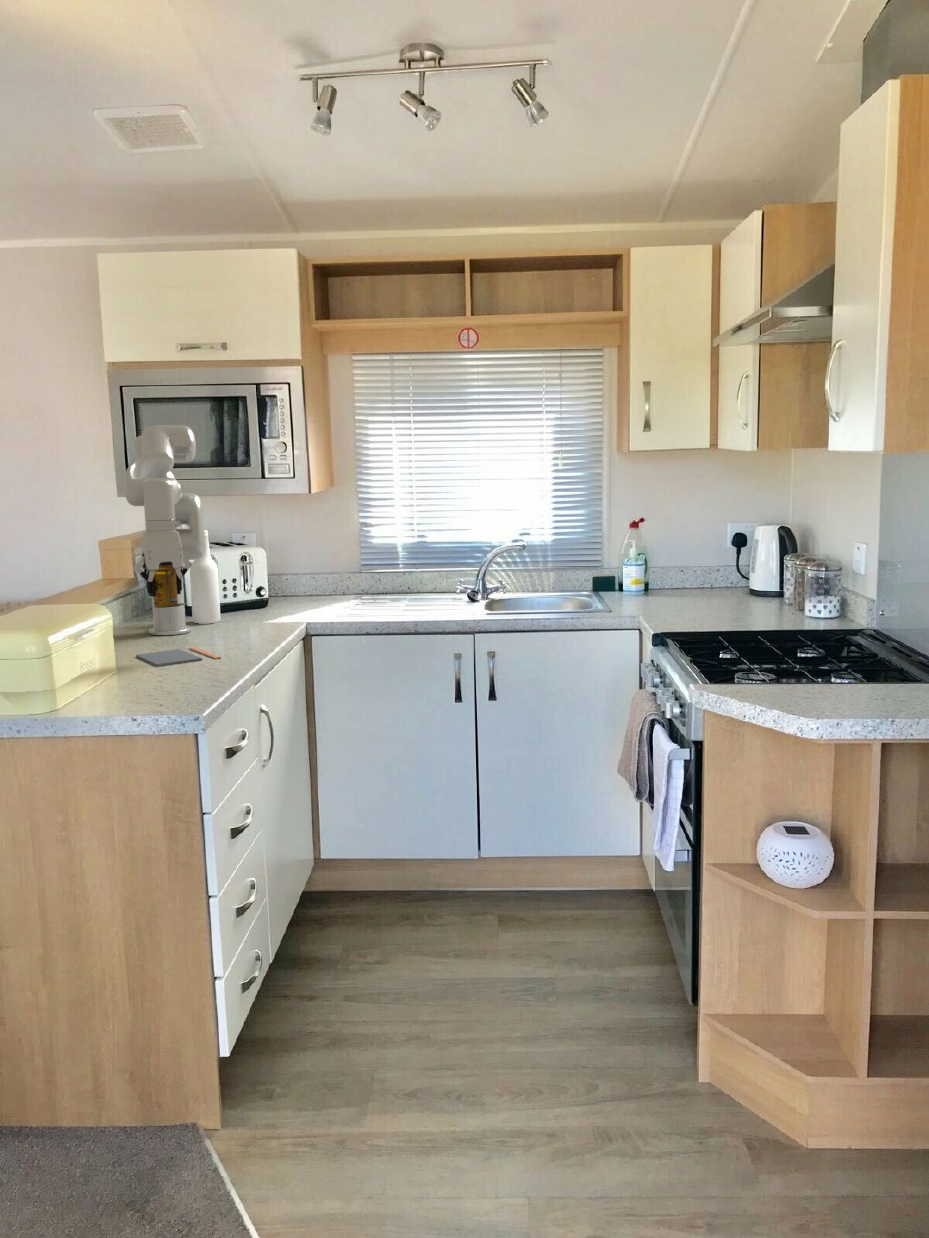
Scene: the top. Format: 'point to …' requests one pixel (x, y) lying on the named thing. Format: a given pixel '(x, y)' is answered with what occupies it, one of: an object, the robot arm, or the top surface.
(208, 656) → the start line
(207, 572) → the alcohol
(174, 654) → the mat
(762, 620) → the top surface
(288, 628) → the top surface
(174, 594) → the condiment
